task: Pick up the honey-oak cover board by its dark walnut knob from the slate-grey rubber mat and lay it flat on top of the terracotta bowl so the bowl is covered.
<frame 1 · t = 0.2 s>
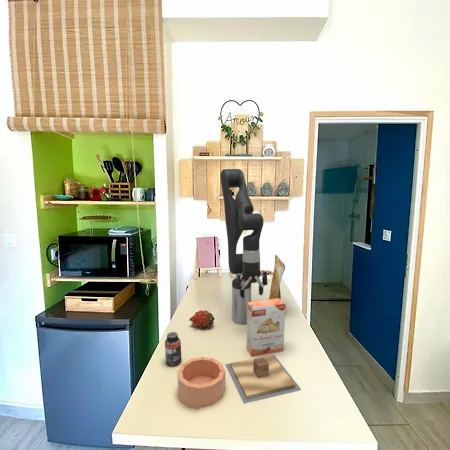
hand: (251, 296, 127), 18 cm above the table, tool pointing down, fingers open, 8 cm apart
bowl: (201, 390, 96), on the table
supplement bottle: (173, 362, 111), on the table
dragon fruit: (202, 327, 137), on the table
cracker box: (265, 351, 117), on the table
pancake mix bag: (275, 310, 154), on the table
mat: (260, 377, 102), on the table
cover board: (260, 376, 101), point 1 cm above the table, touching mat
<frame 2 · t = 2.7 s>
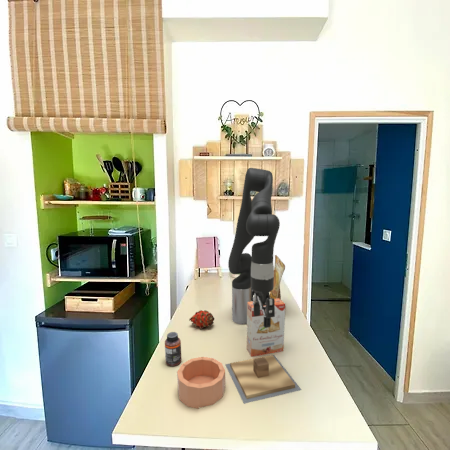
hand: (261, 321, 98), 21 cm above the table, tool pointing down, fingers open, 8 cm apart
nothing on the table moved.
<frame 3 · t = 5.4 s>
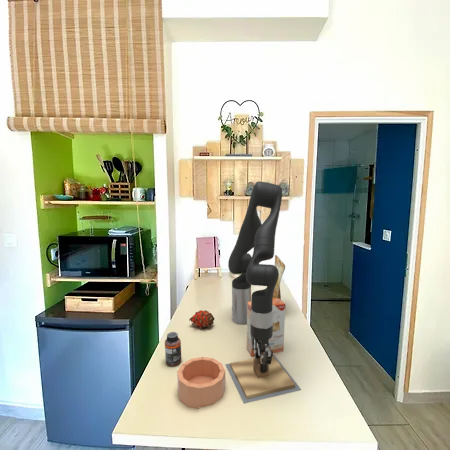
hand: (261, 368, 101), 4 cm above the table, tool pointing down, fingers closed on cover board, 4 cm apart
cover board: (260, 376, 101), point 1 cm above the table, touching gripper, mat
everything else where it was.
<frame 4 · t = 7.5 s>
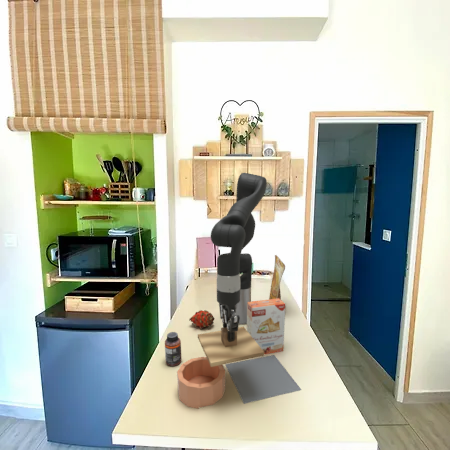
hand: (228, 337, 95), 18 cm above the table, tool pointing down, fingers closed on cover board, 4 cm apart
cover board: (229, 346, 95), point 15 cm above the table, touching gripper
everything else where it was.
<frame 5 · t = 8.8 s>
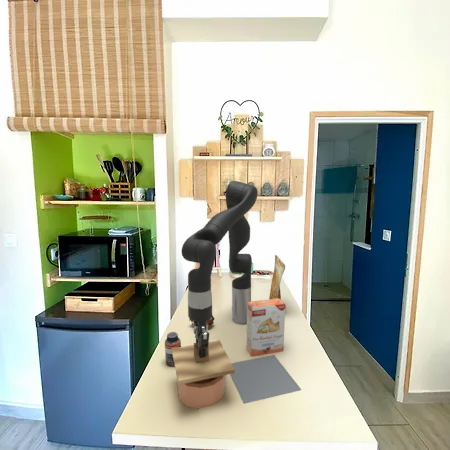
hand: (201, 352, 94), 13 cm above the table, tool pointing down, fingers closed on cover board, 4 cm apart
cover board: (201, 361, 94), point 10 cm above the table, touching gripper
everything else where it was.
when the fingers open (12 cm above the table, at t = 9.8 s): cover board drops 1 cm, resting on bowl.
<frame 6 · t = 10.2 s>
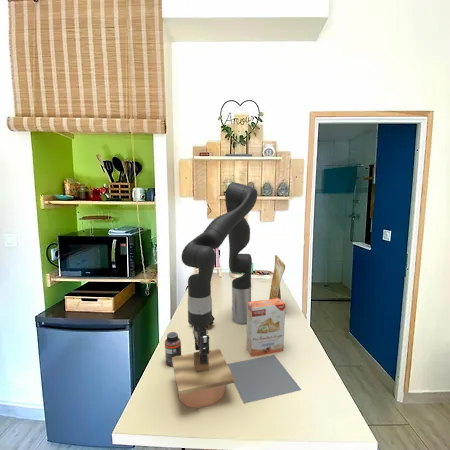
hand: (200, 356, 94), 12 cm above the table, tool pointing down, fingers open, 7 cm apart
cover board: (201, 371, 95), point 7 cm above the table, touching bowl
everything else where it was.
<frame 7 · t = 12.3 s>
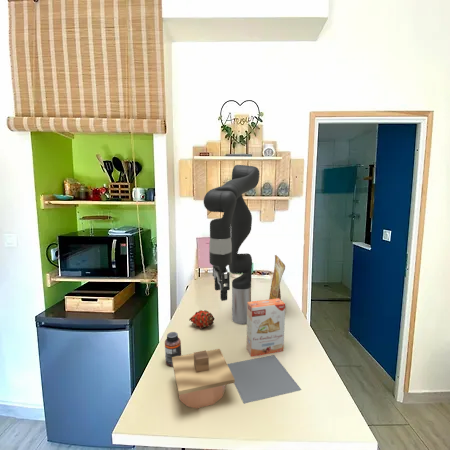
hand: (220, 294, 102), 29 cm above the table, tool pointing down, fingers open, 8 cm apart
nothing on the table moved.
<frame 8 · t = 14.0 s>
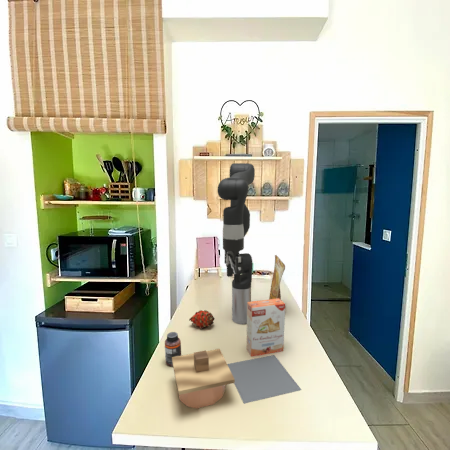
hand: (233, 280, 106), 32 cm above the table, tool pointing down, fingers open, 8 cm apart
nothing on the table moved.
at the end: cover board 0.1 cm off-centre on the bowl, point 7.0 cm above the bowl's base; cover board tilted 0°; the gripper is holding nothing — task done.
